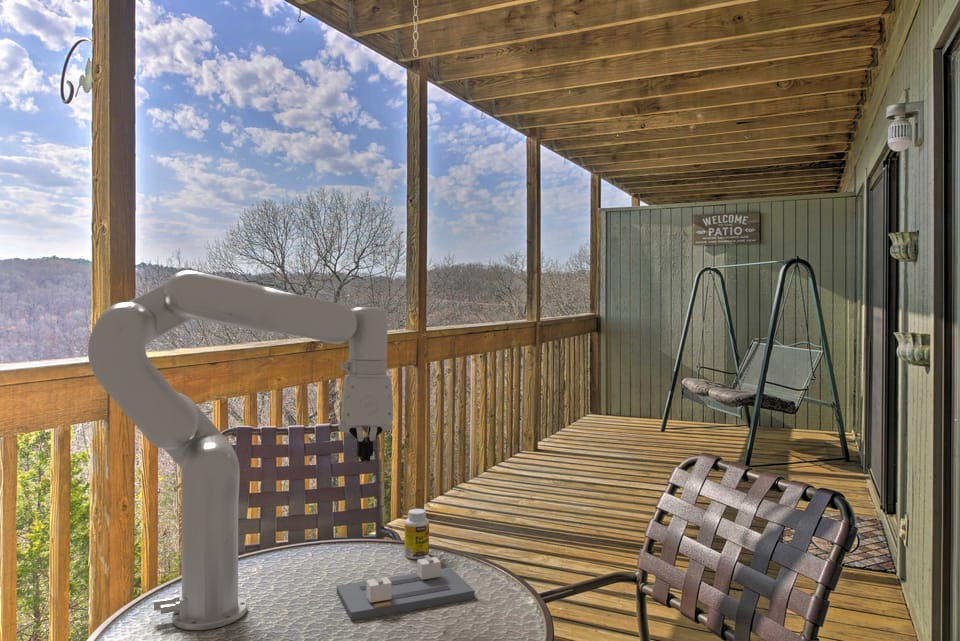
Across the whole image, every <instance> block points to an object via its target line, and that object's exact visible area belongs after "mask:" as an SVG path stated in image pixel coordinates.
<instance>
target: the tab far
mask: <svg viewBox="0 0 960 641" xmlns="http://www.w3.org/2000/svg"><path fill="white" fill-rule="evenodd" d="M416 560H417V561H416V562H417V563H416V567H417V568H416V569H417V571H416V573H417V575H418V576H419V577H420V578H421V579H422V580H423V579H429V578H435V577H441V569H442V568H441V567H442V563H441V562H442V561H441V560H440V559H439V558H437V557H436V556H433V557H431V556H429V554H428V555H426V556H425V558H422V559H416Z"/></svg>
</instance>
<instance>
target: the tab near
mask: <svg viewBox="0 0 960 641" xmlns="http://www.w3.org/2000/svg"><path fill="white" fill-rule="evenodd" d="M365 581H366V597H367V598H368V600H369V601H370V603H372V602H377V601H383V600H389V599H392V583H391V582H390V580H389V579H388V577H381V576H380V575H379V574H378V575H375V576H374V578H372V579H368V580H367V579H366V580H365Z"/></svg>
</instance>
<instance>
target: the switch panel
mask: <svg viewBox="0 0 960 641" xmlns="http://www.w3.org/2000/svg"><path fill="white" fill-rule="evenodd" d="M387 578H388V579H389V580H390V582H391V583H392V599H389V600H383V601H377V602H372V603H370V601H369V600H368V598H367V597H366V580H364V581H359V582H353V583H345V584H340V585H336V595H337V594H338V595H337V597H338V596H339V597H338V598H340V599H339V601H340V600H341V601H340V602H342V603H341V604H343V605H342V607H343V606H344V607H343V608H344V610H345V612H346V614H347V616H348V618H349V620H350V622H354V621H359V620H363V619H370V618H376V617H382V616H387V615H392V614H395V613H396V614H397V613H402V612H409V611H414V610H419V609H425V608H430V607H435V606H440V605H441V606H442V605H446V604H447V605H448V604H451V603H457V602H458V603H459V602H463V601H467V600H468V601H469V600H473V599H475V593H476V592H475V590H474V589H473V587H471V586H470V585H469V584H468V583H467V582H466V581H465V580H464V579H463V578H462V577H461V576H460V575H459V574H458V573H457V572H456V571H455V570H454V569H453V568H452V567H444V568H441V577H435V578H429V579H423V580H422V579H421V578H420V577H419V576H418V575H417V572H414V573H408V574H402V575H401V574H400V575H395V576H389V577H387Z"/></svg>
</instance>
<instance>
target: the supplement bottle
mask: <svg viewBox="0 0 960 641" xmlns="http://www.w3.org/2000/svg"><path fill="white" fill-rule="evenodd" d="M429 554H430V519H428V518H427V512H426V510H425V509H424V508H413V509H409V510H408V514H407V518H406V519H405V521H404V556H405V557H406V558H407V559H410V560H419V559H425V556H426V555H429Z"/></svg>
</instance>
